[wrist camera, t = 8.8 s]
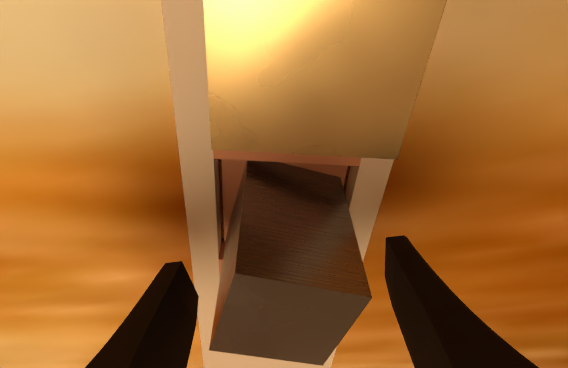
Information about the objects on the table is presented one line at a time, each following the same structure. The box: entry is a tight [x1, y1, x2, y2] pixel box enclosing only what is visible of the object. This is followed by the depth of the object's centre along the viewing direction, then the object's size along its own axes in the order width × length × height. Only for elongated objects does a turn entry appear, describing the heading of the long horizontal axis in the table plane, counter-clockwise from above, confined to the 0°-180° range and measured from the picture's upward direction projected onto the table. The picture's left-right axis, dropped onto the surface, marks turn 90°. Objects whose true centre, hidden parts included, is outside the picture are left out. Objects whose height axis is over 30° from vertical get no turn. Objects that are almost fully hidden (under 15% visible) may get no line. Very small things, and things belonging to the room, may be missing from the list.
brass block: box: [203, 0, 447, 160], centre depth 9 cm, size 4×4×6 cm
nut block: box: [209, 160, 372, 366], centre depth 13 cm, size 4×4×6 cm
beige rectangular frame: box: [161, 0, 394, 368], centre depth 15 cm, size 8×26×1 cm, turn 176°
